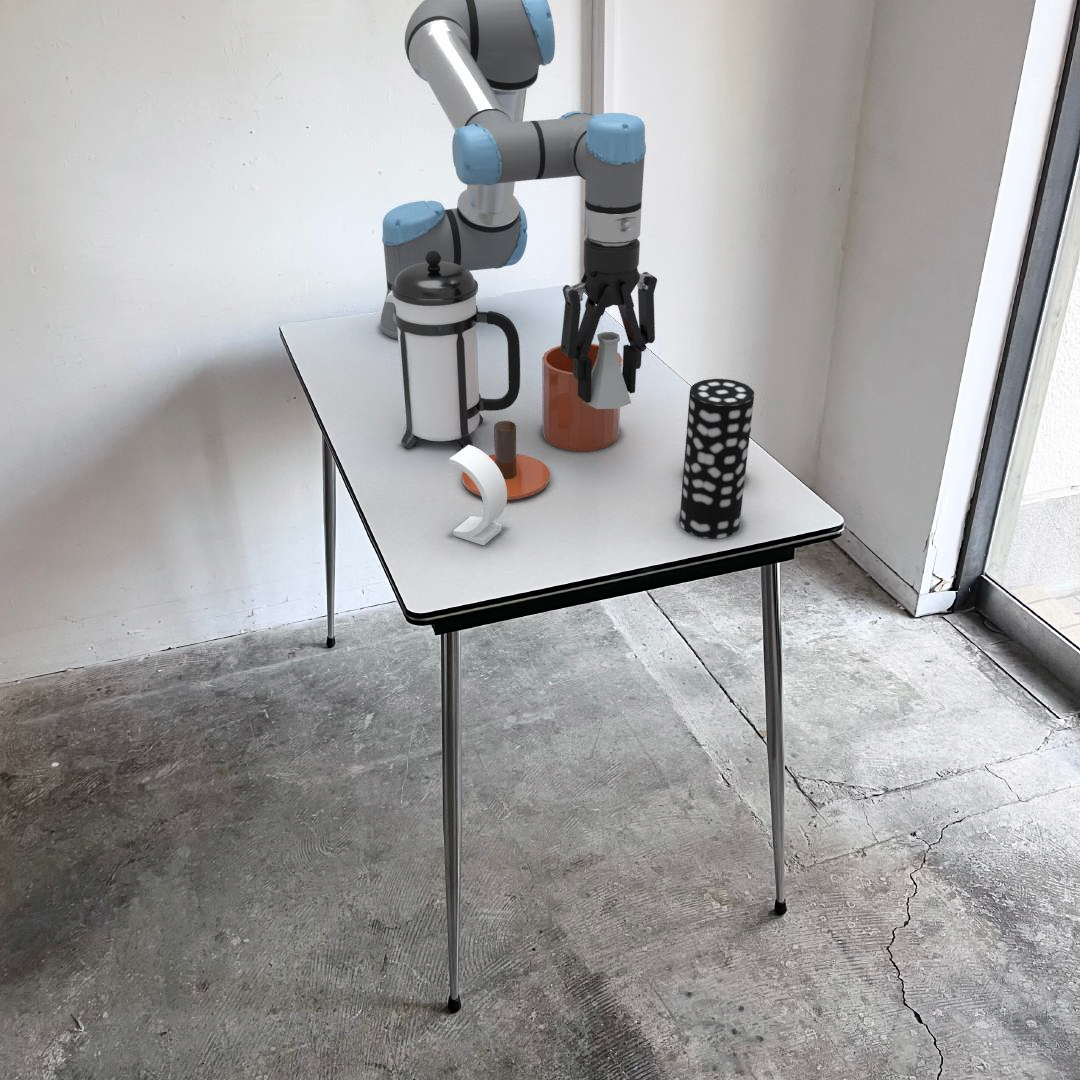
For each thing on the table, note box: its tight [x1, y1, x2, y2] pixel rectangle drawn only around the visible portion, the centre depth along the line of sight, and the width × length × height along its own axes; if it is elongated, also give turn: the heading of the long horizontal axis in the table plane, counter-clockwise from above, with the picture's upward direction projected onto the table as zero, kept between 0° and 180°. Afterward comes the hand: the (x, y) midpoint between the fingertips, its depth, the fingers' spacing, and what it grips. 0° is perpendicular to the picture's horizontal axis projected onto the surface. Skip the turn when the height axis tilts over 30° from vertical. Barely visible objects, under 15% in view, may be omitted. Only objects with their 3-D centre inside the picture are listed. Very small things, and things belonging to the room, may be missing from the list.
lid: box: [461, 420, 551, 501], centre depth 160 cm, size 13×13×9 cm
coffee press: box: [384, 251, 521, 450], centre depth 167 cm, size 17×16×30 cm
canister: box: [541, 343, 623, 452], centre depth 172 cm, size 12×12×13 cm
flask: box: [583, 331, 632, 409], centre depth 157 cm, size 7×7×10 cm
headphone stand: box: [448, 445, 508, 546], centre depth 147 cm, size 5×6×12 cm
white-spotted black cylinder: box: [679, 378, 755, 540], centre depth 147 cm, size 8×8×20 cm
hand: (606, 393), depth 159 cm, fingers closed on flask, 7 cm apart
